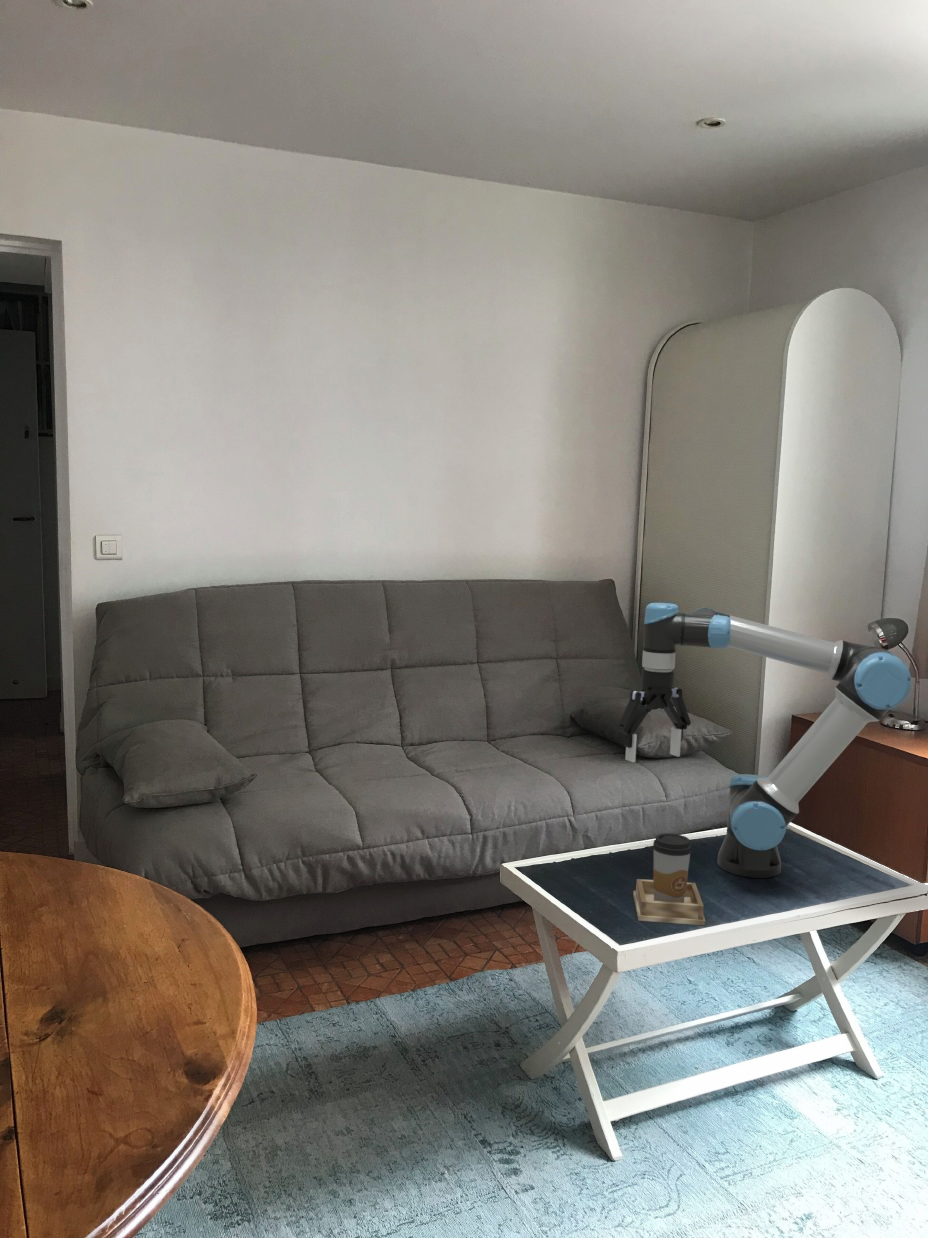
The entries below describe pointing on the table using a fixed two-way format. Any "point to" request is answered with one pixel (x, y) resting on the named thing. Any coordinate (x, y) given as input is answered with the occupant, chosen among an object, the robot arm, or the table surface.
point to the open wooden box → (668, 905)
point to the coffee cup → (670, 867)
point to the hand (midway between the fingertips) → (652, 758)
